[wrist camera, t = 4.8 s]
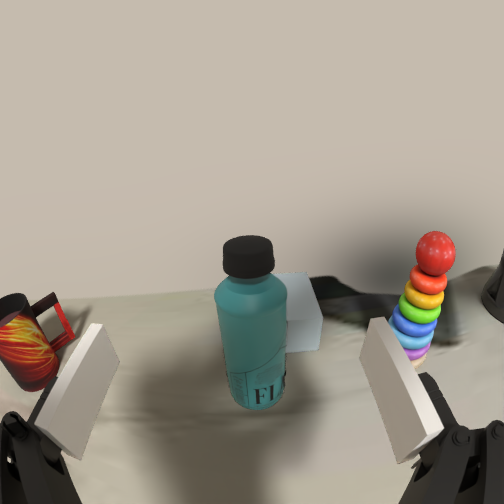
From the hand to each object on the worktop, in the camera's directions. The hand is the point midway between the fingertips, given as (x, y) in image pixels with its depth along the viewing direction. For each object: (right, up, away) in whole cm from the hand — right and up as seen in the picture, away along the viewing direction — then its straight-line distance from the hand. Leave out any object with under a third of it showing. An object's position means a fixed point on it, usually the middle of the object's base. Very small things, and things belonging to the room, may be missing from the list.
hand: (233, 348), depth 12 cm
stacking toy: (+22, -10, +21) cm, 32 cm away
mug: (-34, -14, +20) cm, 41 cm away
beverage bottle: (+2, -13, +17) cm, 22 cm away
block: (+4, -7, +29) cm, 30 cm away
